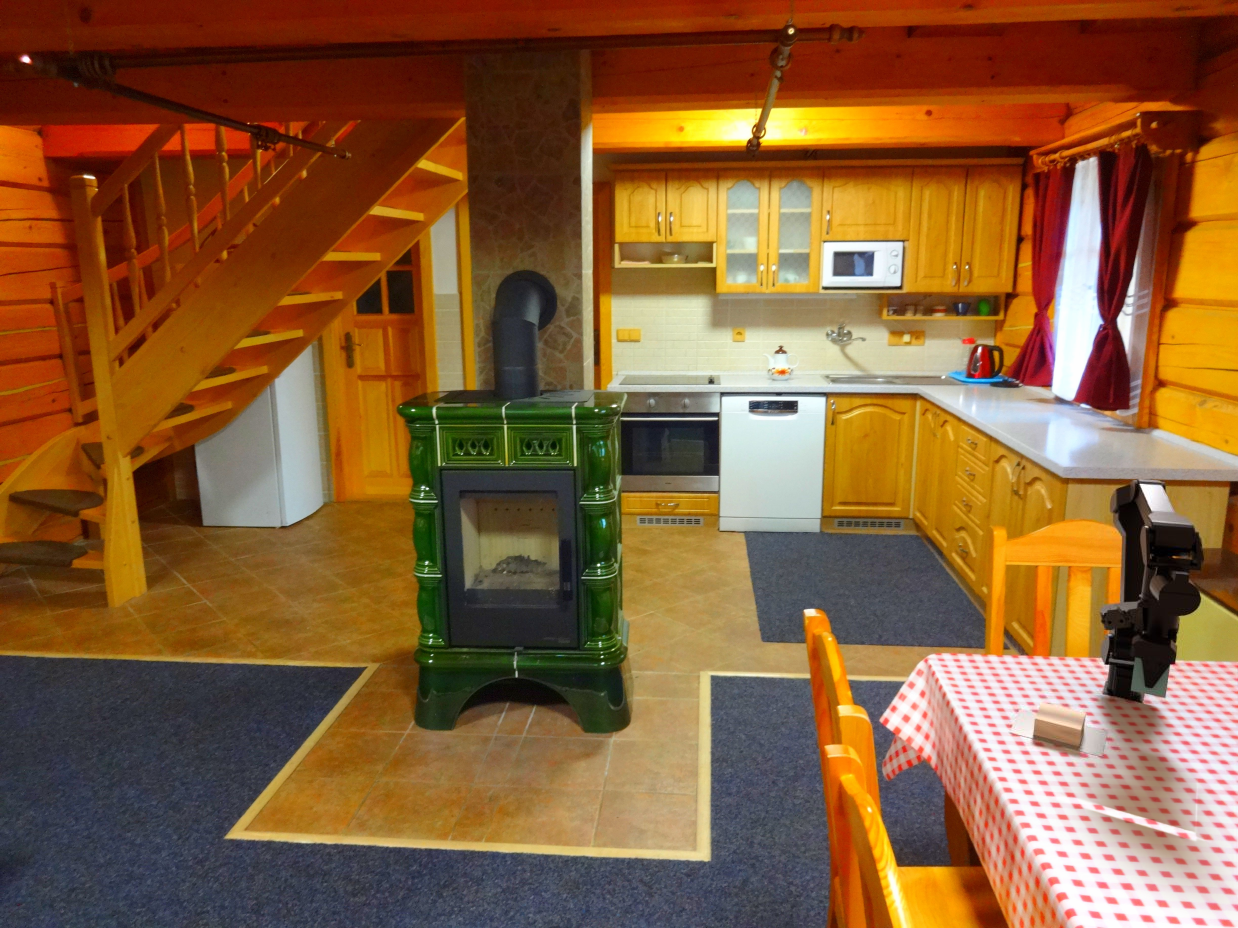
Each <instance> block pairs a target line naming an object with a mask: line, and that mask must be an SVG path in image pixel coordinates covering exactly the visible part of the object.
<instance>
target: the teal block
mask: <svg viewBox="0 0 1238 928" xmlns="http://www.w3.org/2000/svg"><path fill="white" fill-rule="evenodd" d="M1170 668H1171V665H1170V666H1169V667H1168V669H1167V670H1166V671H1165V673H1164V674H1163V675H1162V676H1161V678H1160V679H1159V681H1158V682H1157V683H1156V685H1155V686H1154V687H1153V688H1152V689H1151V688H1146V687H1145V682H1144V674H1143V666H1142V660H1141V659H1140V658H1136V657H1135V663H1134V670H1133V678H1132V686H1131V691H1135V692H1140V693H1144V695H1145V694H1146V695H1149V696H1153V697H1158V698H1162V699H1163V698H1164V699H1166V697H1167V691H1168V684H1169V683H1168V682H1169V676H1170Z"/></svg>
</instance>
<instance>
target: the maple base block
mask: <svg viewBox="0 0 1238 928" xmlns="http://www.w3.org/2000/svg"><path fill="white" fill-rule="evenodd" d="M1036 713H1037V714H1036V717H1035V722H1034V731H1033V735H1037V736H1041V737H1045V738H1049V739H1053V740H1056V741H1060V742H1064V743H1068V744H1072V745H1076V746H1079V745H1080V741H1081V738H1082V734H1083V731H1084V725H1086V723H1085V722H1086V717H1087V716H1086V715H1087V712H1084V711H1080V710H1076V709H1071V708H1068V707H1064V706H1060V705H1055V704H1051V703H1047V702H1043V701H1041V702H1040V705H1039V708H1038V709H1037V712H1036Z"/></svg>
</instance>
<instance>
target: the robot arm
mask: <svg viewBox="0 0 1238 928" xmlns="http://www.w3.org/2000/svg"><path fill="white" fill-rule="evenodd" d="M1166 488H1167V487H1166V482H1164V481H1160V480H1157V479H1156V480H1155V479H1141V478H1137V479H1136V480H1135V479H1134V480H1132V481H1131V482H1130V483H1129V484H1126V485H1123V486H1121V487H1120V486H1119V487H1117V488H1116V489H1115V490H1114V492H1113V493H1112V495H1111V497H1110V501H1109V511H1110V514H1112V524H1113V525H1114V527H1115V528H1116V530H1117V532H1118V533H1119V534H1120V536H1121V554H1120V555H1121V556H1120V557H1121V558H1120V559H1121V560H1120V586H1119V587H1120V589H1119V591H1120V592H1119V594H1120V595H1119V602H1117V603H1107V604H1104V605H1101V607H1100V610H1099V615H1100V618H1101V620H1100V623H1101V624H1102V625H1103V628H1104V630H1105V631H1108V633H1106V635H1105V637H1104V639H1103V640H1102V642H1101V644H1100V658H1101V659H1102V662H1103V665H1104V666H1108V672H1107V680H1105V681H1104V686H1103V690H1102V695H1106V696H1110V697H1114V698H1119V699H1122V700H1127V701H1131V702H1134V703H1136V702H1137V703H1140V704H1143V701H1144V696H1145V694H1144V693H1140V692H1135V691H1131V686H1132V678H1133V670H1134V663H1135V657H1136V658H1140V659H1141V660H1142V666H1143V674H1144V682H1145V687H1146V688H1151V689H1152V688H1153V687H1154V686H1155V685H1156V683H1157V682H1158V681H1159V679H1160V678H1161V676H1162V675H1163V674H1164V673H1165V671H1166V670H1167V669H1168V667H1169V666H1170V667H1171V665H1176V661H1177V654H1178V653H1177V652H1178V645H1177V644H1176V643H1177V642H1178V634H1179V629H1180V620H1181V618H1180V617H1184V616H1188V615H1191V614H1193V613H1194V612H1195V611H1196V610H1198V608H1199V607H1200V605H1201V603H1202V595H1201V593H1200V590H1199V588H1198V587H1197V586H1196V585H1195V583H1193V581H1192V580H1190V571H1194V572H1201V571H1202V565H1203V564H1204V561H1205V557H1204V548H1203V540H1202V538H1201V536H1200V532H1199V531H1198V530H1196V528H1195V524H1194V523H1192V521H1191V520H1190V519H1189V518H1187V517H1185V516H1182V515H1179V514H1177V513H1176V510H1175V508H1174V507H1173V504H1172V502H1171V501H1170V498H1169V496H1168V495H1167V489H1166Z"/></svg>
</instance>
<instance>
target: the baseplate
mask: <svg viewBox="0 0 1238 928" xmlns="http://www.w3.org/2000/svg"><path fill="white" fill-rule="evenodd" d="M1036 714H1037V712H1034V711H1029V710H1025V709H1022V708H1020V709H1019V710H1018V713H1017V715H1016V717H1015V720H1014V722H1013V724H1012V726H1011V728H1010V731H1009V734H1013V735H1018V736H1021V737H1024V738H1025V737H1026V738H1029V739H1032V740H1036V741H1041V742H1044V743H1047V744H1051V745H1055V746H1058V747H1062V748H1065V749H1071V750H1074V751H1078V752H1082V753H1086V754H1089V755H1092V756H1097V757H1100V758H1102V757H1103V754H1104V750H1105V749H1104V748H1105V746H1106V745H1105V744H1106V741H1107V736H1108V732H1109V730H1106V729H1103V728H1099V727H1095V726H1089V725H1086V724H1085V725H1084V731H1083V734H1082V738H1081V741H1080V745H1079V746H1076V745H1072V744H1068V743H1064V742H1060V741H1056V740H1053V739H1049V738H1045V737H1041V736H1037V735H1033V731H1034V722H1035V717H1036Z"/></svg>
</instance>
